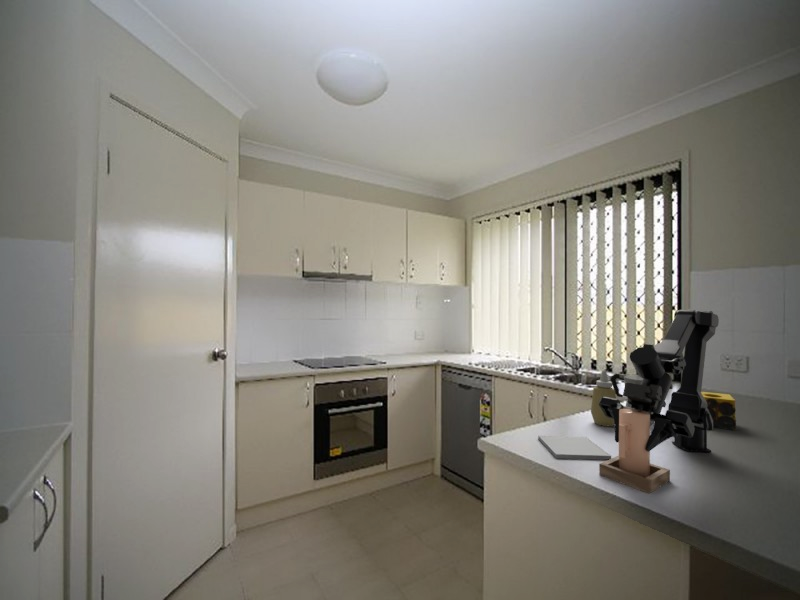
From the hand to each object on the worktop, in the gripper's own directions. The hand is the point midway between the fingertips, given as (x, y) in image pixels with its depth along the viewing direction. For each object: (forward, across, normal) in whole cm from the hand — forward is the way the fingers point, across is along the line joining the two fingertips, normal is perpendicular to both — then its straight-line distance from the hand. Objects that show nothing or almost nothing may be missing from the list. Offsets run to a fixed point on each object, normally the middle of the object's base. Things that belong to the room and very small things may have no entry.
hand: (631, 445), depth 84 cm
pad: (+1, -18, +10) cm, 20 cm away
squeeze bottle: (-20, -24, +31) cm, 44 cm away
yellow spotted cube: (-42, -4, +54) cm, 69 cm away
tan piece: (+5, 0, +5) cm, 8 cm away
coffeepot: (-29, -21, +40) cm, 54 cm away
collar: (+4, 0, +6) cm, 8 cm away
